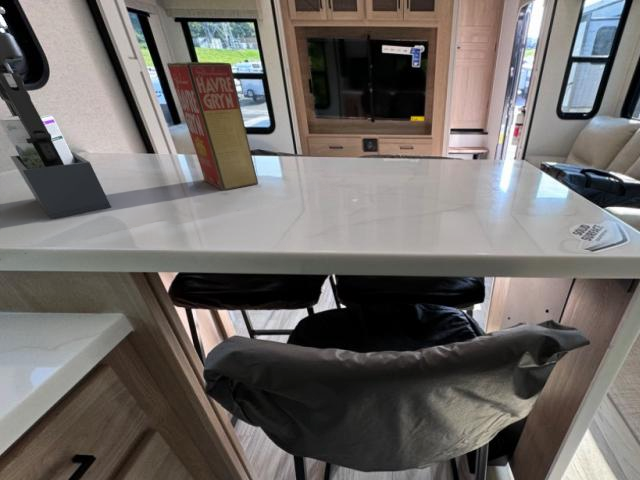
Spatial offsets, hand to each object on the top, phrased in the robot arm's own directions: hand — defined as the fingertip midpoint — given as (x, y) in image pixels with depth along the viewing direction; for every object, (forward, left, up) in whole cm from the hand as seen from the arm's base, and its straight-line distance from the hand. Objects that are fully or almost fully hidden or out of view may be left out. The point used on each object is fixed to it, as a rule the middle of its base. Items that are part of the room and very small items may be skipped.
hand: (57, 174), depth 67 cm
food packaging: (+27, +16, -6) cm, 32 cm away
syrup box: (0, 0, -4) cm, 4 cm away
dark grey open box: (0, 0, -6) cm, 6 cm away
